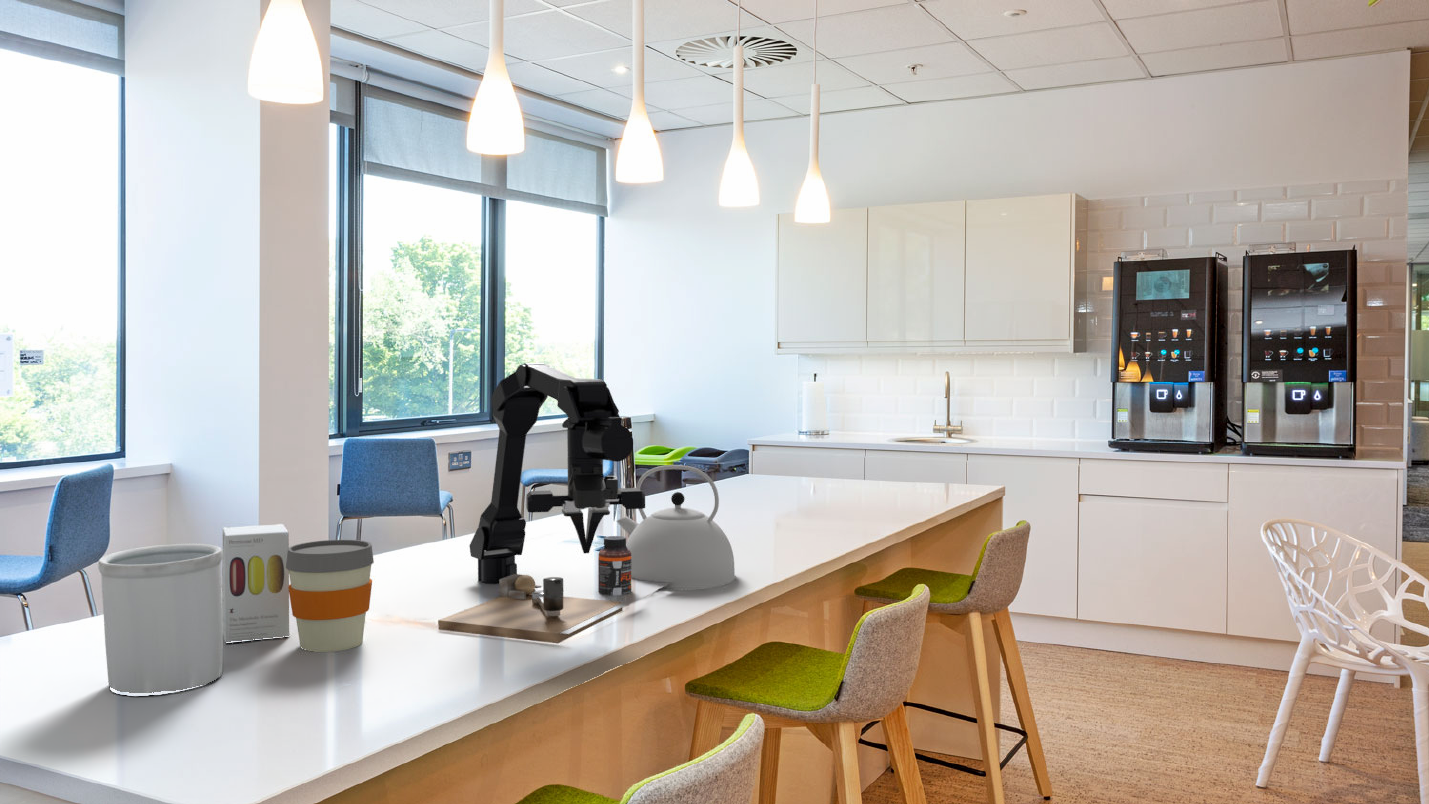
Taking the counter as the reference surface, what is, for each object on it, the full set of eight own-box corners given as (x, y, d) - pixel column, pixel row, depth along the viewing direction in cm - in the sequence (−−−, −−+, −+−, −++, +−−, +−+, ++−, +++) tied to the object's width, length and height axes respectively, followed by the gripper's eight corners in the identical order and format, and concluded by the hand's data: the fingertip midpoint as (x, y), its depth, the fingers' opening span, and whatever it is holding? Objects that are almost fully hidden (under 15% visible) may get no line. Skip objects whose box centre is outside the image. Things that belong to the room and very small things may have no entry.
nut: (510, 596, 185) (510, 576, 185) (521, 592, 189) (521, 572, 189) (528, 598, 184) (528, 577, 184) (539, 593, 188) (539, 573, 187)
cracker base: (437, 629, 169) (437, 601, 169) (516, 598, 191) (516, 573, 191) (558, 643, 161) (558, 614, 161) (626, 608, 183) (626, 583, 182)
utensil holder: (94, 705, 132) (90, 567, 131) (109, 672, 146) (106, 547, 145) (223, 690, 138) (220, 558, 137) (226, 660, 152) (223, 540, 151)
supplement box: (224, 645, 160) (221, 535, 159) (221, 631, 168) (219, 526, 167) (291, 637, 164) (289, 530, 163) (285, 624, 172) (284, 522, 171)
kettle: (589, 583, 203) (588, 467, 202) (641, 562, 224) (641, 457, 223) (708, 595, 194) (708, 473, 193) (751, 571, 215) (751, 462, 214)
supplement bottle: (626, 604, 186) (625, 540, 186) (594, 602, 187) (593, 539, 187) (635, 596, 192) (635, 535, 191) (604, 595, 193) (603, 534, 193)
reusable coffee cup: (286, 638, 164) (284, 542, 163) (371, 629, 169) (369, 537, 168) (288, 659, 152) (286, 556, 151) (378, 650, 157) (377, 550, 156)
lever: (528, 596, 184) (528, 561, 184) (551, 594, 185) (551, 560, 185) (542, 620, 167) (542, 582, 167) (567, 618, 168) (567, 580, 168)
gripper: (529, 463, 160) (530, 565, 160) (650, 460, 164) (651, 559, 164) (525, 456, 170) (526, 552, 171) (639, 454, 175) (640, 547, 175)
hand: (586, 553), depth 170 cm, fingers closed
